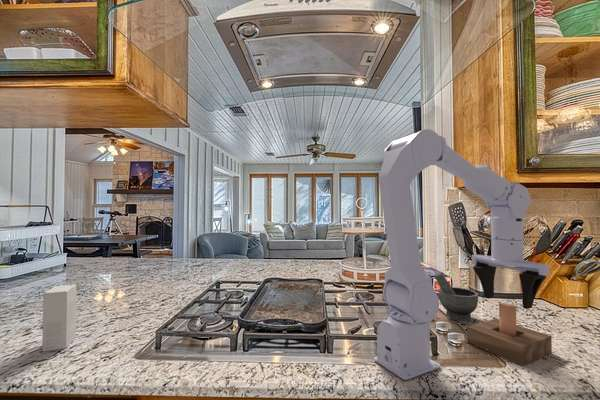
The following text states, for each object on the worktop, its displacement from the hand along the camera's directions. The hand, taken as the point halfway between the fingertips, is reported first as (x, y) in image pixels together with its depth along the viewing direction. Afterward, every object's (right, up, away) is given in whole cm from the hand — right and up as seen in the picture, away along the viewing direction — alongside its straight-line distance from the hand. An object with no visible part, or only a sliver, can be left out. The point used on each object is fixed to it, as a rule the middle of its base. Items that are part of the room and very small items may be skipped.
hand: (507, 302), depth 64 cm
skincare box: (-96, -9, 0) cm, 97 cm away
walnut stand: (0, -10, 0) cm, 10 cm away
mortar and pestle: (-2, -10, +18) cm, 21 cm away
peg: (0, -10, 0) cm, 10 cm away
